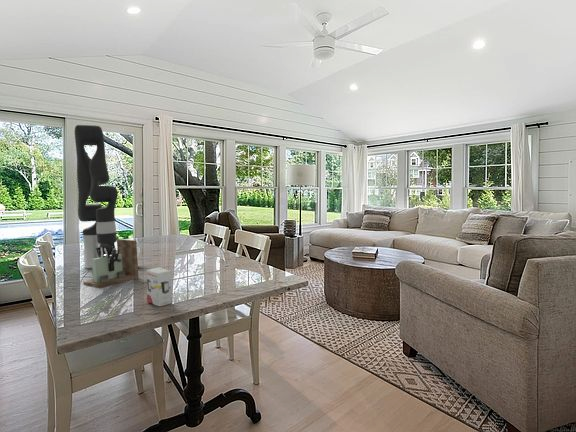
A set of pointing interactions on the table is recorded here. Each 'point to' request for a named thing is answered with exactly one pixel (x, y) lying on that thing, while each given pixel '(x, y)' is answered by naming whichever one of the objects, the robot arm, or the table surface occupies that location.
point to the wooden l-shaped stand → (128, 265)
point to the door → (105, 268)
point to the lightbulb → (138, 251)
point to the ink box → (159, 286)
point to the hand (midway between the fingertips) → (109, 270)
